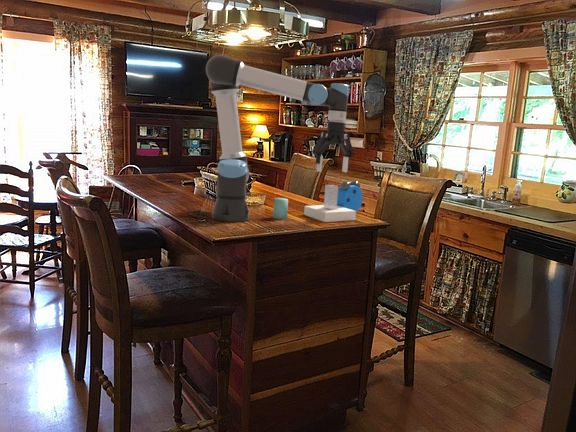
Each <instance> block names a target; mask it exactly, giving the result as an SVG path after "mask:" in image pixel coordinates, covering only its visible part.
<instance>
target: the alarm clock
mask: <svg viewBox="0 0 576 432" xmlns="http://www.w3.org/2000/svg"><path fill="white" fill-rule="evenodd" d="M363 199H364V197H363V192H362V189H361V183H360V182H359V181H358V180H351V181H350V182H349V181H347V180H345V181H341V182H340V185H339V187H338V196H337V205H338V206H341V207H344V208H348V209H351V210H354V211H356V213H357V212H358V211H359V210H360V208H361V207H362V204H363Z"/></svg>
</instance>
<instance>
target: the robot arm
mask: <svg viewBox="0 0 576 432" xmlns="http://www.w3.org/2000/svg"><path fill="white" fill-rule="evenodd" d="M205 74H206V76H207V78H208V80H209V84H210V93H211V94H212V95H214V97H215V103H216V111H217V112H216V113H217V119H218V130H219V138H220V146H221V155H220V157H219V162H218V163H217V168H216V170H217V175H216V176H217V180H216V181H217V182H216V200H215V203H214V205H213V208H212V212H211V218H212V219H213V220H215V221H219V222H230V223H232V222H233V223H235V222H236V223H237V222H245V221H248V220H250V212H249V211H250V210H249V208H248V204H247V199H246V198H247V197H246V195H247V182H248V181H249V178H250V169H249V165H248V159H247V154H246V153H244V152H243V146H242V145H243V143H242V136H241V134H242V133H241V126H240V118H239V110H238V100H237V93H238V92H239V91H240V86H243V87H248V88H251V89H255V90H260V91H263V92H267V93H271V94H275V95H279V96H282V97H286V98H291V99H294V100H299V101H300V103H301V104H302V105H305V106H306V105H307V106H318V107H321V106H322V107H328V115H327V120H328V122H327V127H326V130H327V132H322V131H321V132H320V135H319V139H318V140H317V142H316V145H315V146H314V148H313V151H312V155H315V164H316V170H315V172H319V173H322V169H323V168H322V167H323V159H324V158H323V157H324V156H322V155H323V154H324V152H325V151H326V150H327V149H328V148H329V147H330V145H338V146H339V147H340V149H341V151H342V152H343V155H344V156H343V159H342V168H341V171H342V172H343V173H348V168H349V165H350V159H351V158H352V157H354V156H355V151H354V149H353V145H352V142H351V135H350V134H349V133H345V131H346V120H347V110H348V100H349V86H348V84H347V83H346V84H345V83H338V82H336V83H331V85H330V87H325V86H324V85H323V84H320V83H314V82H309V81H307V80H303V79H299V78H296V77H291V76H287V75H283V74H280V73H276V72H273V71H268V70H265V69H261V68H257V67H254V66H249V65H246V64H244V62H243V61H241V60H238V59H235V58H232V57H230V56H227V55H225V54H216V55H214V56H212V57H211V58H209V59H208V60H207V63H206V65H205Z"/></svg>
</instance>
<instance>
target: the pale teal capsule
mask: <svg viewBox="0 0 576 432" xmlns="http://www.w3.org/2000/svg"><path fill="white" fill-rule="evenodd" d="M288 207H289V199H288V198H285V197H274V198H273V209H272V210H273V211H272V213H273V214H272V218H273V219H275V220H287V219H288V210H289V209H288Z"/></svg>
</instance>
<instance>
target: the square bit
mask: <svg viewBox="0 0 576 432" xmlns="http://www.w3.org/2000/svg"><path fill="white" fill-rule="evenodd" d="M338 189H339V186H338V185H335V184H325V187H324V195H323V196H324V198H323V199H324V200H323V205H324V209H327V210H335V209H337V196H338Z"/></svg>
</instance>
